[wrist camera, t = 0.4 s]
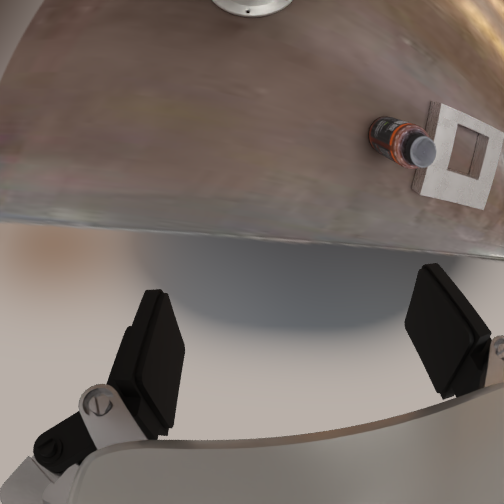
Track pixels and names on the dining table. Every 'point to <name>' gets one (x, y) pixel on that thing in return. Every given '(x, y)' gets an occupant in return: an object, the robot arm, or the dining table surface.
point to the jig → (443, 134)
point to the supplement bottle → (402, 142)
